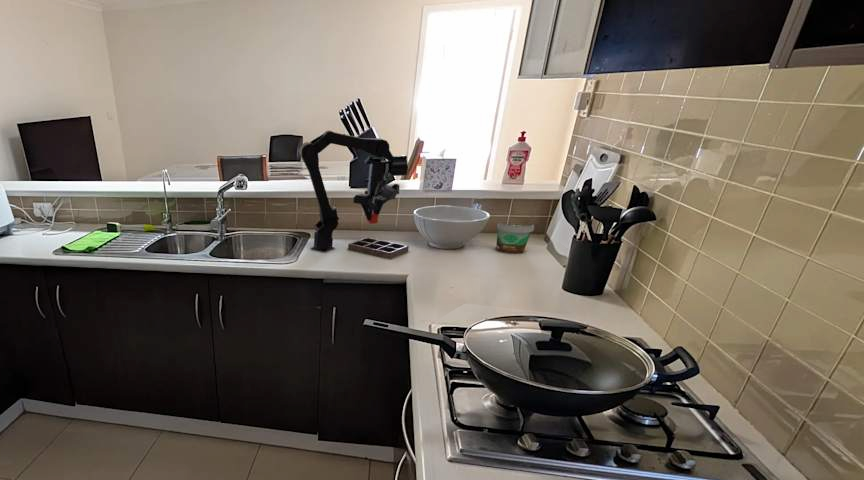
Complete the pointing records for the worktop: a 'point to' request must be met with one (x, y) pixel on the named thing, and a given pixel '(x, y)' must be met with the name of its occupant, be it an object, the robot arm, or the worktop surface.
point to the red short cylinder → (373, 219)
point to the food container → (512, 238)
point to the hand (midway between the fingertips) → (372, 219)
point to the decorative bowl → (449, 225)
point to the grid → (378, 248)
